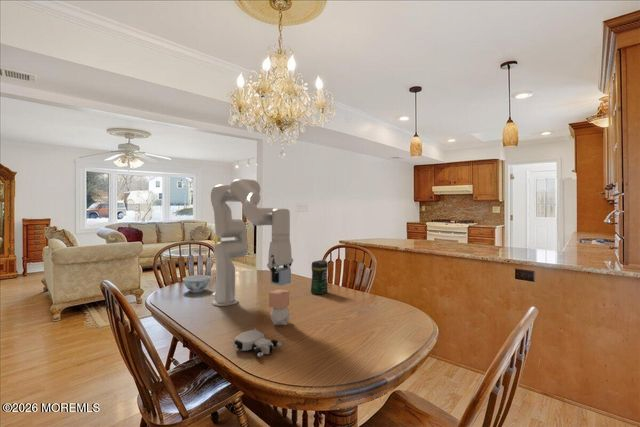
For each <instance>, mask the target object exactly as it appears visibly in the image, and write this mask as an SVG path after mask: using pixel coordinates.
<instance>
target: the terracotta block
mask: <svg viewBox="0 0 640 427" xmlns="http://www.w3.org/2000/svg"><path fill="white" fill-rule="evenodd" d="M286 306H287V307H288V306H290V291H289V290H285V289H280V288H279V289H275V290H272V291H269V292H268V307H270V308H272V309H273V308H277V309H282V308H284V307H286Z"/></svg>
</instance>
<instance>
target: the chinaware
mask: <svg viewBox="0 0 640 427" xmlns="http://www.w3.org/2000/svg"><path fill="white" fill-rule="evenodd" d="M210 282H211V275H207V274H197V275H196V274H192V275H188V276H185V277H183V278H182V283H183V285H184V286H185V288H186V289H187V290H189V291H190V292H191V293H196V294H197V293H200V292H203V291H204V289H205V288H207V287H208V285H209V284H210Z"/></svg>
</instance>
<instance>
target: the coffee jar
mask: <svg viewBox="0 0 640 427" xmlns="http://www.w3.org/2000/svg"><path fill="white" fill-rule="evenodd" d="M310 267H311V285H310V292H311V293H312V294H313V295H323V294H327V293H328V268H329V264H328V261H327V260H322V259H320V260H315V261H312V263H311V266H310Z"/></svg>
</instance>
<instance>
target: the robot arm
mask: <svg viewBox="0 0 640 427" xmlns="http://www.w3.org/2000/svg"><path fill="white" fill-rule="evenodd" d="M260 192H261V186H260V183H259V182H258V181H256V180H254V179H247V178H237V179H234V180H233V181H232V182H231V183H230V184H217V185H215V186H214V187H212V189H211V191H210V202H211V206H212V209H213V215H214V216H213V217H214V228H215V229H214V231H215V235H216V237H218V238H219V239H229V240H221V241H218V242H216V243H215V244H214V246H213V256H214V263H215V292H214V293H212V294H211V295H212V297H214V299H213V300H212V305H214V306H218V307H228V306H232V305H236V304H238V302H239V298H238V297H236V266H235V264H234V262H233V261H232V260H233V259H240V258H244V257H245V256H247V254H248V250H249V243H248V231H247V230H248V229H247V226H246V224H245V222H244V221H243V220H242V219H240V218H238V219H237V218H233V216H232V209H231V207H230V205H229V204H228V202H230V203H235V202H239V203H242V211H243V215H244V217H245V218H246V219H247V220H248V221H249V222H250V223H251V224H253V225H254V226H258V227H259V226H260V227H261V226H271V241H270V243H269V249H268V256H267V257H268V259H267V261H268V262H267V264H266V266H267V268H268V269H269V270H270V274H271V273H272V282H275V283H278V282H279V273H278V269H279V267H283V268H290V269H291V266H292V264H293V262H294V259H293V258H292V245H291V240H290V238H291V237H290V236H291V233H290V232H291V213H290V210H289V209H288V208H278V207H277V208H276V207H257V206H258V205H259V203H260V201H261V195H260ZM230 238H234V239H230ZM275 268H276V269H275Z"/></svg>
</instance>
